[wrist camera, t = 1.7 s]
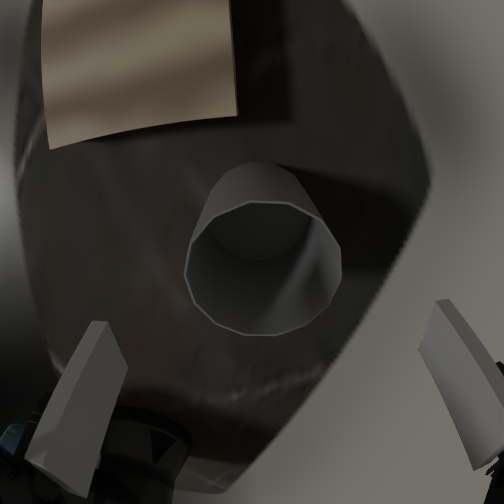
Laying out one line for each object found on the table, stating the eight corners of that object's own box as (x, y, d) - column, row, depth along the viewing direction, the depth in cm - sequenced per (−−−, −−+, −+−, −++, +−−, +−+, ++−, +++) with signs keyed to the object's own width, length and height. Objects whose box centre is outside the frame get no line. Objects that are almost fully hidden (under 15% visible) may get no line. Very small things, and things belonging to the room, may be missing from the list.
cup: (287, 146, 22) (314, 173, 14) (322, 235, 26) (357, 305, 17) (189, 188, 24) (155, 241, 15) (232, 270, 27) (226, 351, 18)
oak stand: (238, 114, 21) (236, 115, 18) (75, 141, 22) (50, 149, 18) (225, -73, 13) (222, -96, 10) (71, -33, 13) (49, -45, 10)
